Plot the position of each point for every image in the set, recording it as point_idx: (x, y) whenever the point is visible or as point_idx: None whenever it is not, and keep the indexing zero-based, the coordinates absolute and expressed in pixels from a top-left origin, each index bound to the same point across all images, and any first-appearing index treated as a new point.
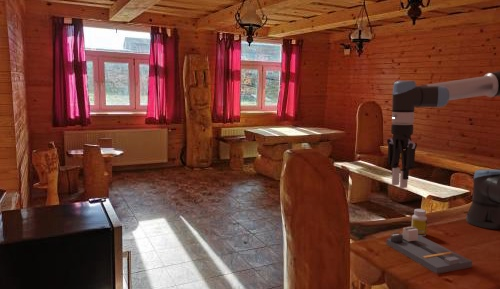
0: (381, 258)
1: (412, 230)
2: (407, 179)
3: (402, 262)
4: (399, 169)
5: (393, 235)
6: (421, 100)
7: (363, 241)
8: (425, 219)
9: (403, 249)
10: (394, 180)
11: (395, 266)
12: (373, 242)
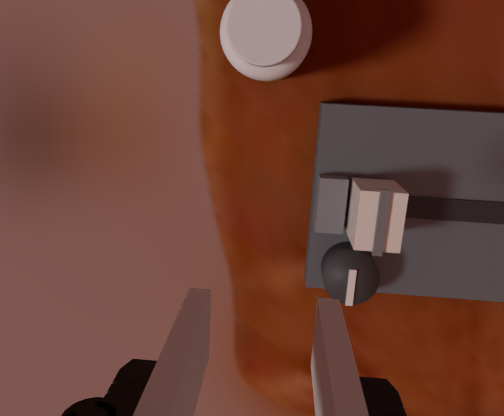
0: (405, 381)
1: (402, 229)
2: (352, 351)
3: (470, 338)
4: (171, 409)
5: (352, 301)
6: None
7: (241, 339)
8: (311, 25)
9: (422, 294)
10: (200, 374)
11: (481, 381)
12: (266, 311)
